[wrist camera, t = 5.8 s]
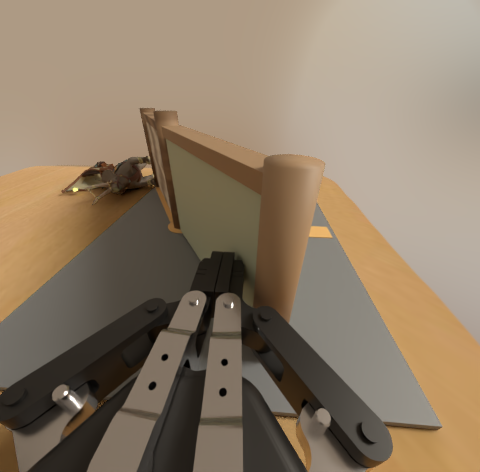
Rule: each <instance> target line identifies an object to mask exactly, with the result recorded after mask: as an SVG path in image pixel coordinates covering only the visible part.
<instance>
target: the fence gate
mask: <svg viewBox="0 0 480 472" xmlns="http://www.w3.org/2000/svg"><path fill="white" fill-rule="evenodd" d="M161 128H162V134H163V137H164V138H166V143H167V149H168V155H169V161H170V168H171V174H172V180H173V186H174V192H175V198H176V204H177V211H178V217H179V223H180V229H181V232H182V233H183V235H184V236H185V238H186V239H187V241H188V242H189V244H190V245H191V247H192V248H193V250H194V251H195V253H196V254H197V256H198V257H199V259H200V260H201V261H202V260H203V259H204V258H210V257H211V254H212V251H222V252H223V253H224V252H235V260H242V262H243V264H244V285H243V301H244V302H245V303H246V304H247V305H249V306H251V307H253V308H256V309H257V308H258V307H260V306H269V307H272V308H274V309H275V310H276V311H277V312H278V313H279V314H280V315H281V316H282V317H283V318H284V319H285V320H286V321H287V322H288V323H289V321H290V317H291V313H292V308H293V304H294V299H295V295H296V291H297V286H298V282H299V277H300V273H301V269H302V264H303V260H304V256H305V251H306V247H307V242H308V238H309V234H310V229H311V225H312V221H313V216H314V212H315V207H316V203H317V199H318V194H319V190H320V185H321V181H322V177H323V172H324V168H325V163H324V162H323V161H322V160H320V159H317V158H313V157H309V156H302V155H292V154H283V155H272V156H267V155H264V154H261V153H258V152H255V151H253V150H249V149H247V148H244V147H241V146H238V145H235V144H233V143H229V142H227V141H224V140H221V139H218V138H215V137H213V136H210V135H207V134H204V133H201V132H198V131H195V130H193V129H189V128H187V127H184V126H181V125H177V126H161Z"/></svg>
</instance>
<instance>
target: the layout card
mask: <svg viewBox="0 0 480 472" xmlns="http://www.w3.org/2000/svg"><path fill="white" fill-rule="evenodd" d="M154 186H155V185H154ZM200 262H201V260H200V259H199V257H198V256H197V254H196V253H195V251H194V250H193V248H192V247H191V245H190V244H189V242H188V241H187V239H186V238H185V236H184V235H183V233H182V232H181V230H180V229H176V228H174V224H173V218H172V213H171V210H170V208H169V206H168V204H167V202H166V200H165V198H164V196H163V194H162V192H161V190H160V187H156V186H155V187H154V188H153V189H152V190H151V191H150V192H149V193H147V194H146V195H145V196H144V197H143V198H142V199H141V200H139V201H138V202H137V203H136V204H135V205H134V206H133V207H131V208H130V209H129V210H128V211H127V212H126V213H125V214H124V215H122V216H121V217H120V218H119V219H118V220H117V221H116V222H114V223H113V224H112V225H111V226H110V227H109V228H108V229H106V230H105V231H104V232H103V233H102V234H101V235H100V236H99V237H97V238H96V239H95V240H94V241H93V242H92V243H91V244H89V245H88V246H87V247H86V248H85V249H84V250H83V251H81V252H80V253H79V254H78V255H77V256H76V257H75V258H74V259H72V260H71V261H70V262H69V263H68V264H67V265H66V266H64V267H63V268H62V269H61V270H60V271H59V272H58V273H56V274H55V275H54V276H53V277H52V278H51V279H50V280H49V281H47V282H46V283H45V284H44V285H43V286H42V287H41V288H39V289H38V290H37V291H36V292H35V293H34V294H33V295H31V296H30V297H29V298H28V299H27V300H26V301H25V302H24V303H22V304H21V305H20V306H19V307H18V308H17V309H16V310H14V311H13V312H12V313H11V314H10V315H9V316H8V317H6V318H5V319H4V320H3V321H2V322H1V323H0V390H4V391H5V390H6V389H7V388H9V387H10V386H11V385H13V384H14V383H16V382H17V381H19V380H21V379H22V378H24V377H25V376H27V375H29V374H30V373H32V372H33V371H35V370H37V369H38V368H40V367H41V366H43V365H45V364H46V363H48V362H49V361H51V360H53V359H54V358H56V357H57V356H59V355H61V354H62V353H64V352H65V351H67V350H69V349H70V348H72V347H74V346H75V345H77V344H78V343H80V342H82V341H83V340H85V339H86V338H88V337H90V336H91V335H93V334H94V333H96V332H98V331H99V330H101V329H102V328H104V327H106V326H107V325H109V324H110V323H112V322H114V321H115V320H117V319H118V318H120V317H122V316H123V315H125V314H126V313H128V312H130V311H131V310H133V309H134V308H136V307H138V306H139V305H141V304H142V303H144V302H146V301H147V300H150V299H153V298H161V299H163V300H164V301H165V302H166V303H171V302H176V301H179V300H181V299H182V297H183V296H184V295H185V294H186V293H188V292H189V291H190V288H191V285H192V282H193V280H194V277H195V274H196V271H197V268H198V265H199V263H200ZM213 323H214V318H211V321H210V326H209V333H208V336H207V340H206V343H205V347H204V350H203V354H202V357H201V361H200V367H199V371H200V370H205V369H207V361H208V353H209V344H210V337H211V334H212V332H213ZM289 324H290V325H291V326H292V328H293V329H294V330H295V331H296V332H297V333H298V334H299V335H300V336H301V337H302V338H303V339H304V340H305V341H306V342H307V343H308V344H309V345H310V346H311V347H312V348H313V349H314V350H315V351H316V352H317V354H318V355H319V356H320V357H321V358H322V359H323V360H324V361H325V362H326V363H327V364H328V365H329V366H330V367H331V368H332V369H333V370H334V371H335V372H336V373H337V374H338V375H339V376H340V377H341V379H342V380H343V381H344V382H345V383H346V384H347V385H348V386H349V387H350V388H351V389H352V390H353V391H354V392H355V393H356V394H357V395H358V396H359V397H360V398H361V399H362V400H363V401H364V402H365V404H366V405H367V406H368V407H369V408H370V409H371V410H372V411H373V412H374V413H375V414H376V415H377V416H378V417H379V418H380V419H381V420H382V422H383V423H384V424H385V425H391V426H402V427H413V428H424V429H435V430H438V429H440V428H442V427H443V426H442V425H441V423H440V421H439V419H438V417H437V416H436V414H435V412H434V410H433V409H432V407H431V405H430V403H429V401H428V400H427V398H426V396H425V394H424V392H423V391H422V389H421V387H420V385H419V384H418V382H417V380H416V378H415V376H414V375H413V373H412V371H411V369H410V368H409V366H408V364H407V362H406V360H405V359H404V357H403V355H402V353H401V351H400V350H399V348H398V346H397V344H396V343H395V341H394V339H393V337H392V335H391V334H390V332H389V330H388V328H387V327H386V325H385V323H384V321H383V319H382V318H381V316H380V314H379V312H378V310H377V309H376V307H375V305H374V303H373V302H372V300H371V298H370V296H369V294H368V293H367V291H366V289H365V287H364V286H363V284H362V282H361V280H360V278H359V277H358V275H357V273H356V271H355V269H354V268H353V266H352V264H351V262H350V261H349V259H348V257H347V255H346V253H345V252H344V250H343V248H342V246H341V245H340V243H339V241H338V239H337V237H336V236H335V234H334V232H333V230H332V228H331V227H330V225H329V223H328V221H327V220H326V218H325V216H324V214H323V212H322V211H321V209H320V207H319V205H318V204H317V203H316V207H315V212H314V216H313V221H312V225H311V229H310V234H309V238H308V242H307V247H306V251H305V256H304V260H303V264H302V269H301V273H300V277H299V282H298V286H297V291H296V295H295V299H294V304H293V308H292V313H291V317H290V321H289ZM142 368H143V367H142ZM142 368H140V369H139V370H138V371H137V372H136V373H134V374H133V375H132V376H131V377H129V378H128V379H127V380H126V381H125V382H123V383H122V384H121V385H120V386H118V387H117V388H116V389H115V390H114V391H112V392H111V393H110V394H109V395H107V396H106V397H105V398H104V399H103V400H109V399H110V398H111V397H112V396H113V395H115V394H116V393H117V392H118V391H119V390H120V389H121V388H123V387H124V386H125V385H126V384H127V383H128V382H130V381H131V380H132V379H133V378H135V377H136V376H138V375H139V374H140V372H141V370H142ZM242 377H244V378H246V379H247V380H249V381H250V382H251V383H252V384H253V385H254V386H255V387H256V388H257V389H258V390H259V392H260V393H261V395H262V396H263V398H264V400H265V401H266V403H267V405H268V406H269V408H270V410H271V411H272V413H273V415H280V416H292V417H299V416H298V415H297V413H296V412H295V411H294V409H293V408H292V406H291V405H290V404H289V402H288V401H287V400H286V398H285V397H284V395H283V394H282V393H281V391H280V390H279V388H278V387H277V386H276V384H275V383H274V381H273V380H272V379H271V377H270V376H269V374H268V373H267V372H266V370H265V369H264V367H263V366H262V365H261V363H260V362H259V360H258V359H257V358H256V356H255V355H254V353H253V352H252V350H251V348H250V347H248V346H245V345H243V344H242Z"/></svg>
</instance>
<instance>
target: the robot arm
mask: <svg viewBox="0 0 480 472" xmlns="http://www.w3.org/2000/svg"><path fill="white" fill-rule="evenodd" d="M243 285H244V264H243V262H242V260H235V252H224V253H223V252H222V251H212V254H211V257H210V258H204V259H203V260H202V261H201V262H200V263H199V265H198V268H197V271H196V274H195V277H194V280H193V282H192V285H191V288H190V291H189V292H188V293H186V294H185V295H184V296H183V297H182V299H181V300H179V301H176V302H171V303H166V302H165V301H164V300H163V299H161V298H153V299H150V300H147V301H146V302H144V303H142V304H141V305H139V306H138V307H136V308H134V309H133V310H131V311H130V312H128V313H126V314H125V315H123V316H122V317H120V318H118V319H117V320H115V321H114V322H112V323H110V324H109V325H107V326H106V327H104V328H102V329H101V330H99V331H98V332H96V333H94V334H93V335H91V336H90V337H88V338H86V339H85V340H83V341H82V342H80V343H78V344H77V345H75V346H74V347H72V348H70V349H69V350H67V351H65V352H64V353H62V354H61V355H59V356H57V357H56V358H54V359H53V360H51V361H49V362H48V363H46V364H45V365H43V366H41V367H40V368H38V369H37V370H35V371H33V372H32V373H30V374H29V375H27V376H25V377H24V378H22V379H21V380H19V381H17V382H16V383H14V384H13V385H11V386H10V387H9V388H7V389H6V390H5V391H4V392H3V393H2V394H1V395H0V423H1V424H2V425H4V426H5V427H6V428H7V429H8V430H10V431H11V432H12V433H13V438H14V444H15V450H16V456H17V462H18V468H19V472H369V471H371V470H372V469H374V468H375V467H377V466H378V465H380V464H381V463H383V462H384V461H386V460H387V459H388V458H389V457H390V456H391V454H392V449H393V444H392V439H391V436H390V433H389V431H388V429H387V427H386V426H385V424H384V423H383V422H382V420H381V419H380V418H379V417H378V416H377V415H376V414H375V413H374V412H373V411H372V410H371V409H370V408H369V407H368V406H367V405H366V404H365V402H364V401H363V400H362V399H361V398H360V397H359V396H358V395H357V394H356V393H355V392H354V391H353V390H352V389H351V388H350V387H349V386H348V385H347V384H346V383H345V382H344V381H343V380H342V379H341V377H340V376H339V375H338V374H337V373H336V372H335V371H334V370H333V369H332V368H331V367H330V366H329V365H328V364H327V363H326V362H325V361H324V360H323V359H322V358H321V357H320V356H319V355H318V354H317V352H316V351H315V350H314V349H313V348H312V347H311V346H310V345H309V344H308V343H307V342H306V341H305V340H304V339H303V338H302V337H301V336H300V335H299V334H298V333H297V332H296V331H295V330H294V329H293V328H292V326H291V325H290V324H289V323H288V322H287V321H286V320H285V319H284V318H283V317H282V316H281V315H280V314H279V313H278V312H277V311H276V310H275V309H274V308H272V307H269V306H260V307H258V308H257V309H256V308H253V307H251V306H249V305H247V304H246V303H245V302H244V301H243ZM211 318H214V323H213V332H212V334H211V337H210V344H209V353H208V361H207V369H205V370H200V371H199V367H200V361H201V357H202V354H203V350H204V347H205V343H206V340H207V336H208V333H209V326H210V321H211ZM242 344H243V345H245V346H248V347H250V348H251V350H252V352H253V353H254V355H255V356H256V358H257V359H258V360H259V362H260V363H261V365H262V366H263V367H264V369H265V370H266V372H267V373H268V374H269V376H270V377H271V379H272V380H273V381H274V383H275V384H276V386H277V387H278V388H279V390H280V391H281V393H282V394H283V395H284V397H285V398H286V400H287V401H288V402H289V404H290V405H291V406H292V408H293V409H294V411H295V412H296V413H297V415H298V416H299V418H298V420H297V423H296V435H297V438H298V441H299V443H300V445H301V447H302V449H303V451H304V455H305V459H306V468H305V466H304V465H303V463H302V461H301V460H300V458H299V456H298V455H297V453H296V451H295V450H294V448H293V446H292V445H291V443H290V441H289V440H288V438H287V436H286V435H285V433H284V431H283V430H282V428H281V426H280V425H279V423H278V421H277V420H276V418H275V416H274V415H273V413H272V411H271V410H270V408H269V406H268V405H267V403H266V401H265V400H264V398H263V396H262V395H261V393H260V392H259V390H258V389H257V388H256V387H255V386H254V385H253V384H252V383H251V382H250V381H249V380H247V379H246V378H244V377H242ZM142 367H143V368H142ZM140 368H142V370H141V372H140V374H139V375H138V376H136V377H135V378H133V379H132V380H131V381H130V382H128V383H127V384H126V385H125V386H124V387H123V388H121V389H120V390H119V391H118V392H117V393H116V394H115V395H113V396H112V397H111V398H110V399H109V400H108V401H107V402H105V403H104V404H103V405H102V406H101V407H100V408H99V409H97V410H96V408H97V404H98V403H99V402H100V401H101V400H103V399H104V398H105V397H106V396H107V395H109V394H110V393H111V392H112V391H114V390H115V389H116V388H117V387H118V386H120V385H121V384H122V383H123V382H125V381H126V380H127V379H128V378H129V377H131V376H132V375H133V374H134V373H136V372H137V371H138V370H139V369H140Z"/></svg>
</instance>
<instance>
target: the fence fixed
mask: <svg viewBox="0 0 480 472" xmlns="http://www.w3.org/2000/svg"><path fill="white" fill-rule="evenodd" d="M140 113H141V118H142V123H143V127H144V132H145V137H146V142H147V146H148V151H149V156H150V161H151V165H152V170H153V175H154V180H155V183H156V187H160V190H161V192H162V194H163V196H164V198H165V200H166V202H167V204H168V206H169V208H170V210H171V213H172V218H173V224H174V228H176V229H180V223H179V217H178V211H177V204H176V198H175V192H174V186H173V180H172V174H171V168H170V161H169V155H168V149H167V143H166V138H164V137H163V134H162V128H161V126H177V125H179V124H178V116H177V111H155V109H154V108H140ZM180 230H181V229H180Z"/></svg>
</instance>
